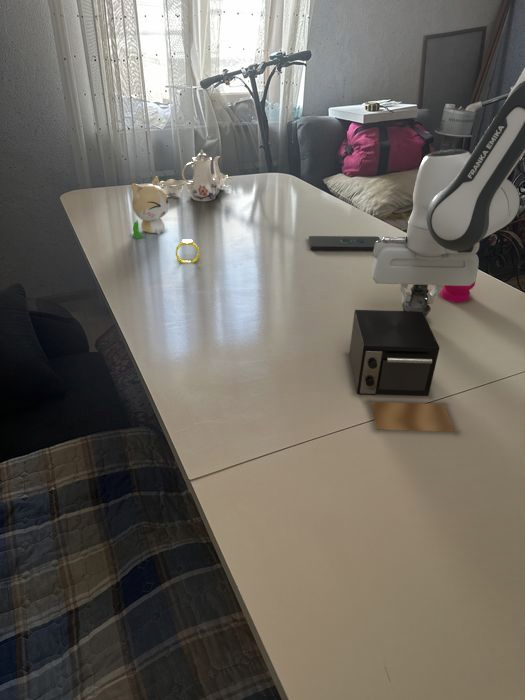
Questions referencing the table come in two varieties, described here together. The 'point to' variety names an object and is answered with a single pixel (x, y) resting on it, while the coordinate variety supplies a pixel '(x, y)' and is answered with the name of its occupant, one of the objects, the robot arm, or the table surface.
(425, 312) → the gray stone statue
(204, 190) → the chinaware
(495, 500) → the table surface
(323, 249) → the smart home device
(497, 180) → the robot arm
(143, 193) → the kitten
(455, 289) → the pepper mill
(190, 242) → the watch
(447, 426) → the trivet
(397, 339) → the oven
